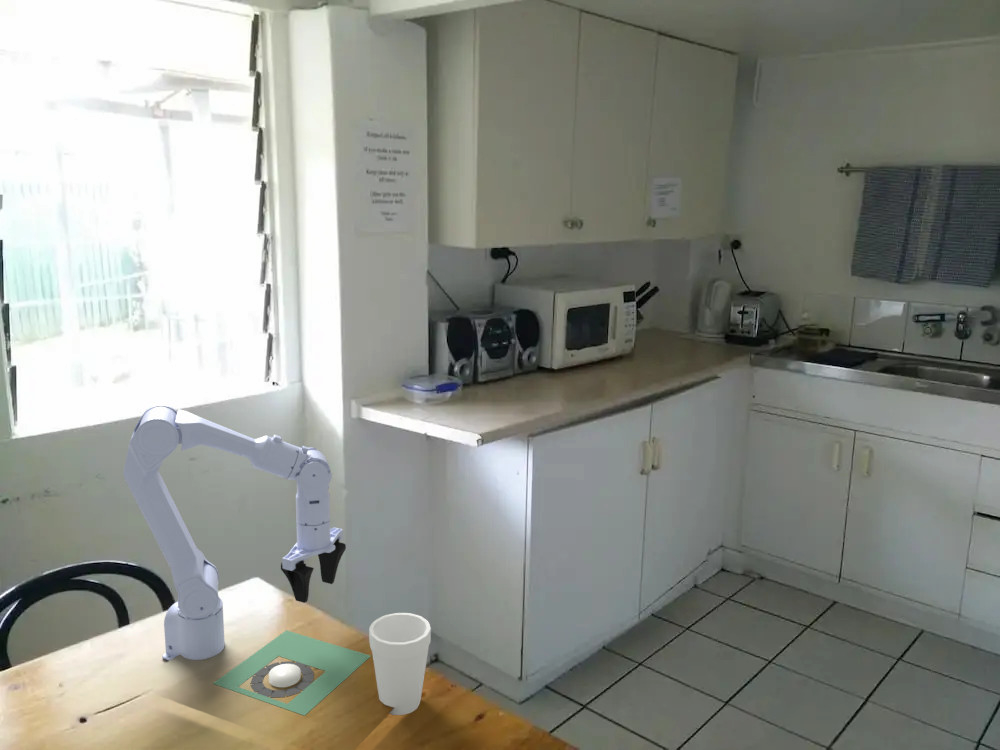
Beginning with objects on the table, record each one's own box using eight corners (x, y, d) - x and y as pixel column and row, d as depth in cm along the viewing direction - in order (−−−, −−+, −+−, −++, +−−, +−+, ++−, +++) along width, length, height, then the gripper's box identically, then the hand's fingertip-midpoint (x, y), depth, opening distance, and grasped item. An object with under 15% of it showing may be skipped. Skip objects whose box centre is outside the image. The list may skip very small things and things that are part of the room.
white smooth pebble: (262, 688, 129) (262, 675, 128) (284, 673, 133) (284, 660, 133) (285, 699, 127) (285, 686, 126) (307, 683, 131) (307, 670, 130)
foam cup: (419, 725, 121) (419, 648, 118) (361, 716, 123) (360, 640, 120) (436, 689, 130) (437, 616, 127) (382, 681, 132) (382, 609, 129)
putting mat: (213, 691, 128) (212, 683, 128) (286, 637, 144) (286, 630, 144) (304, 724, 121) (304, 715, 120) (371, 663, 137) (371, 655, 137)
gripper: (305, 539, 131) (307, 615, 134) (356, 509, 144) (357, 579, 147) (271, 531, 134) (274, 605, 137) (324, 502, 146) (325, 571, 149)
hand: (315, 591), depth 142 cm, fingers open, 7 cm apart
